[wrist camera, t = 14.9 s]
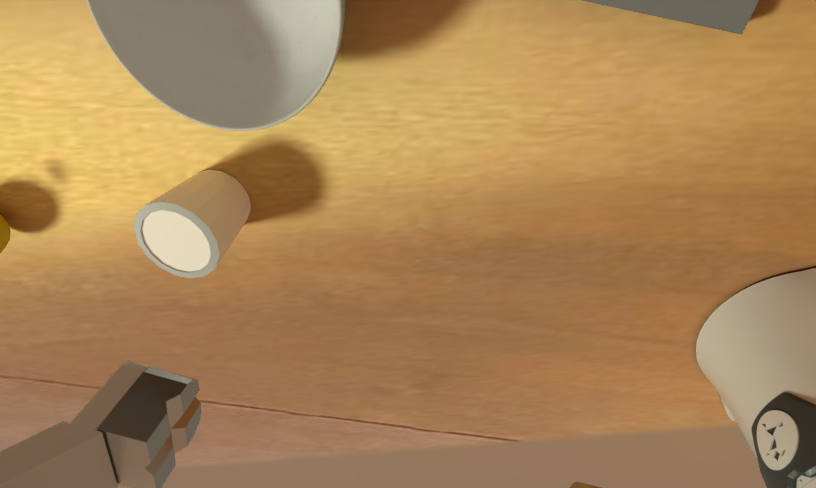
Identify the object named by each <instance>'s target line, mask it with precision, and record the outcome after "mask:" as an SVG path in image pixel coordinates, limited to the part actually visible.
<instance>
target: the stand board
mask: <svg viewBox="0 0 816 488" xmlns="http://www.w3.org/2000/svg"><path fill="white" fill-rule="evenodd" d="M583 1H588V2H592V3H597V4H602V5H606V6H611V7H616V8H620V9H625V10H630V11H634V12H639V13H644V14H648V15H653V16H658V17H663V18H667V19H672V20H677V21H681V22H686V23H691V24H695V25H700V26H705V27H709V28H714V29H719V30H723V31H728V32H733V33H737V34H742V33H743V31H744V29H745V27H746V25H747V23H748V21H749V19H750V17H751V15H752V13H753V11H754V10H755V8H756V6H757V4H758V2H759V0H583Z"/></svg>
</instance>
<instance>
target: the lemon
mask: <svg viewBox="0 0 816 488" xmlns="http://www.w3.org/2000/svg"><path fill="white" fill-rule="evenodd" d="M9 240H10V227H9V225H8V223H7V222H6V220H5V219H4V217H3V216H2V215H1V214H0V253H1V252H2V251H3V250H4V248H5V247H6V245H7V244H8V242H9Z"/></svg>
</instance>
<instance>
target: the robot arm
mask: <svg viewBox="0 0 816 488" xmlns="http://www.w3.org/2000/svg"><path fill="white" fill-rule="evenodd" d="M696 356H697V360H698V364H699V366H700V368H701V370H702V372H703V373H704V375H705V376H706V377H707V378H708V380H709V381H710V382H711V383H712V385H713V386H714V387H715V389H716V390H717V391H718V393H719V394H720V396H721V400H722V405H723V407H724V409H725V411H726V413H727V415H728V416H729V418H730V419H731V420H733V421H735V422H737V424H738V426H739V427H740V429H741V431H742V433H743V435H744V436H745V438H746V440H747V442H748V443H749V445H750V447H751V448H752V450H753V452H754V454H755V456H756V457H757V459H758V462H759V467H760V471H761V474H762V477H763V479H764V481H765V483H766V486H767V488H816V268H813V269H809V270H805V271H799V272H794V273H789V274H785V275H781V276H777V277H773V278H770V279H767V280H764V281H762V282H759V283H757V284H754V285H752V286H750V287H748V288H746V289H744V290H742V291H740V292H739V293H737V294H735V295H734V296H732V297H731V298H729V299H728V300H727V301H725V302H724V303H723V304H722V305H720V306H719V307H718V308H717V309H716V310H715V311H714V312H713V313H712V314H711V316H710V317H709V318H708V319H707V321H706V322H705V324H704V325H703V327H702V329H701V331H700V333H699V336H698V339H697V344H696ZM198 391H199V384H198V380H196V379H193V378H189V377H186V376H182V375H178V374H175V373H171V372H168V371H164V370H161V369H157V368H154V367H151V366H147V365H144V364H140V363H136V362H132V361H127V362H126V363H124V364H123V365H121V366H120V367H119V368H118V369H117V370H116V371H115V372H114V373H113V375H112V376H111V377H110V378H109V379H108V380H107V381H106V383H105V384H104V385H103V386H102V387H101V388H100V389H99V391H98V392H97V393H96V394H95V395H94V396H93V397H92V398H91V400H90V401H89V402H88V403H87V404H86V405H85V406H84V408H83V409H82V410H81V411H80V412H79V413H78V414H77V416H76V417H75V418H74V419H73V420H72V421H71V422H70V423H69V422H65V421H63V422H61V423H59V424H57V425H54V426H52V427H50V428H48V429H46V430H44V431H42V432H40V433H38V434H36V435H34V436H32V437H30V438H28V439H25V440H23V441H21V442H19V443H17V444H15V445H13V446H11V447H9V448H7V449H5V450H3V451H1V452H0V488H117V487H118V485H117V484H119V485H123V486H127V487H131V488H162V486H163V484H164V483H165V481H166V479H167V478H168V476H169V475H170V473H171V472H172V470H173V468H174V467H175V465H176V464H175V453H176V452H178V451H180V450H181V449H183V448H185V447H187V446H188V444H189V442H190V441H191V439H192V437H193V436H194V434H195V431H196V429H197V426H198V424H199V421H200V416H201V403H200V402H199V401H198V399H197V398H196V397H195V396H196V394H197V393H198ZM570 488H601V487H597V486H592V485H589V484H585V483H581V482H575V483H573V484H572V486H571V487H570Z"/></svg>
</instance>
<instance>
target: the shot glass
mask: <svg viewBox="0 0 816 488" xmlns="http://www.w3.org/2000/svg"><path fill="white" fill-rule="evenodd" d="M250 211H251V204H250V198H249V196H248V194H247V192H246V190H245V188H244V187H243V186H242V185H241V184H240V183H239V182H238V181H237V180H236V179H235V178H234V177H232V176H230V175H228V174H226V173H224V172H223V171H217V170H211V169H209V170H205V171H202V172H199V173H197V174H195V175H194V176H192V177H190V178H189V179H187V180H186V181H184V182H182V183H181V184H179V185H177V186H176V187H174V188H172V189H171V190H169V191H168V192H166V193H164V194H163V195H161V196H159V197H158V198H156V199H154V200H153V201H151V202H150V203H148V204H146V205H145V206H144V207H143V208H142V209H141V210H140V211H139V212H138V213H137V214H136V217H135V222H134V231H135V235H136V239H137V242H138V244H139V245H140V247H141V248H142V250H143V251H144V252H145V254H146V255H147V257H149V258H150V259H151V260H152V261H153V262H154V263H156V264H157V265H158V266H159V267H160V268H162V269H164V270H166V271H168V272H170V273H172V274H174V275H176V276H182V277H187V278H197V277H203V276H206V275H207V274H209V273H210V272H211V271H213V270H214V269H215V268H216V267H217V265H218V264H219V262H220V260H221V259H222V257H223V256H224V254H225V253H226V251H227V250H228V248H229V247H230V245H231V244H232V242H233V241H234V239H235V237H236V236H237V234H238V233H239V231H240V230H241V228H242V227H243V225H244V224H245V222H246V221H247V219H248V217H249V214H250Z"/></svg>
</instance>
